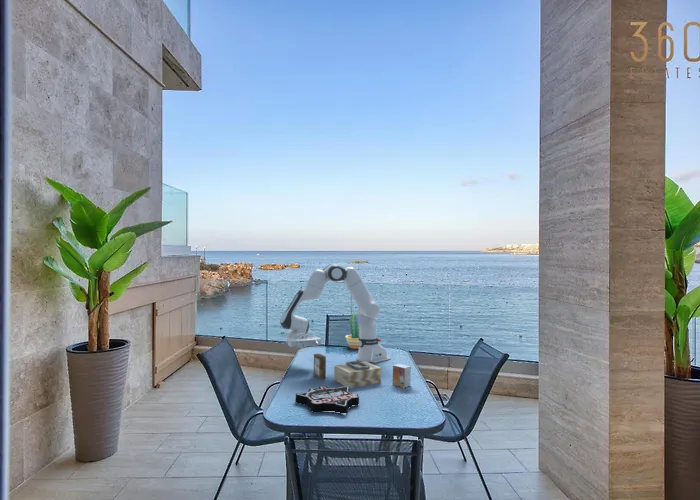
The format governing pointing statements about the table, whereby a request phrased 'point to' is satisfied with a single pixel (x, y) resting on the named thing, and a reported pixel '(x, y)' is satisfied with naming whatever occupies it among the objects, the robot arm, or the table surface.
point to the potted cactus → (353, 332)
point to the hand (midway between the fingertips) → (310, 344)
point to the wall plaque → (328, 399)
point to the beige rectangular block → (357, 374)
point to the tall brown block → (319, 366)
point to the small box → (401, 375)
